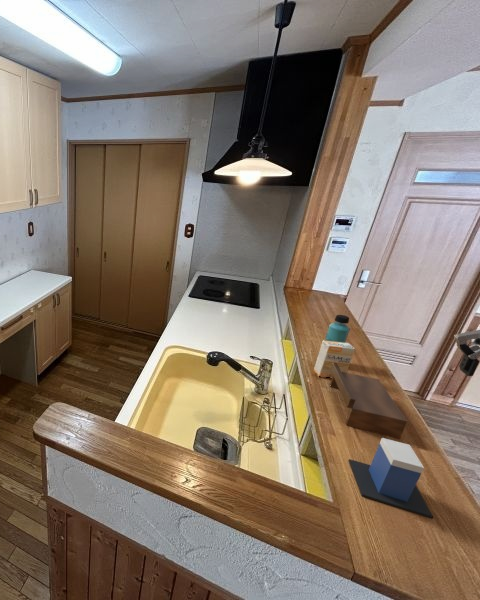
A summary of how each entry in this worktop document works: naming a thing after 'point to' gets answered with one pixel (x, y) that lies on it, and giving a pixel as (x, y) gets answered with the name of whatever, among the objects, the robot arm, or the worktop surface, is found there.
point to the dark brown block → (368, 403)
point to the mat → (371, 492)
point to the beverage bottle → (338, 329)
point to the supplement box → (333, 357)
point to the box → (395, 469)
